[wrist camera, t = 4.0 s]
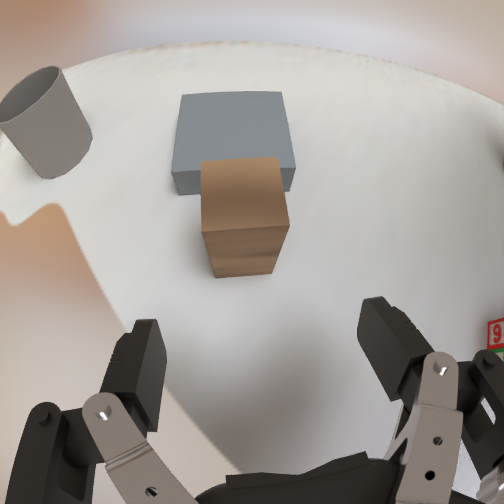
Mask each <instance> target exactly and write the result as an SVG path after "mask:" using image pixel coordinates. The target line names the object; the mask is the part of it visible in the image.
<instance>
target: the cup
mask: <svg viewBox="0 0 504 504" xmlns="http://www.w3.org/2000/svg"><path fill="white" fill-rule="evenodd" d="M0 128H1V129H2V131H3V132H4V133H5V135H6V136H7V137H8V138H9V140H10V141H11V142H12V143H13V145H14V146H15V147H16V148H17V150H18V151H19V152H20V153H21V155H22V156H23V157H24V158H25V159H26V161H27V162H28V163H29V164H30V165H31V166H32V168H33V169H34V170H35V171H36V172H37V173H38V174H39V176H40V177H41V178H45V179H54V178H56V177H59V176H61V175H64V174H66V173H67V172H68V171H70V170H71V169H72V168H73V167H75V166H76V165H77V164H79V162H80V161H81V160H82V158H83V157H84V156H85V154H86V153H87V152H88V150H89V147H90V144H91V141H92V133H91V129H90V127H89V125H88V123H87V121H86V120H85V118H84V116H83V114H82V112H81V110H80V108H79V106H78V104H77V102H76V100H75V98H74V96H73V94H72V92H71V90H70V88H69V86H68V84H67V81H66V79H65V77H64V75H63V73H62V71H61V69H60V67H57V66H54V65H52V66H48V67H44V68H41V69H39V70H37V71H35V72H33V73H31V74H30V75H28V76H27V77H25V78H24V79H23V80H22V81H20V82H19V83H18V84H16V85H15V86H14V87H13V88H12V89H11V90H10V91H9V93H8V94H7V95H6V96H5V97H4V98H3V100H2V101H1V103H0Z"/></svg>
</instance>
